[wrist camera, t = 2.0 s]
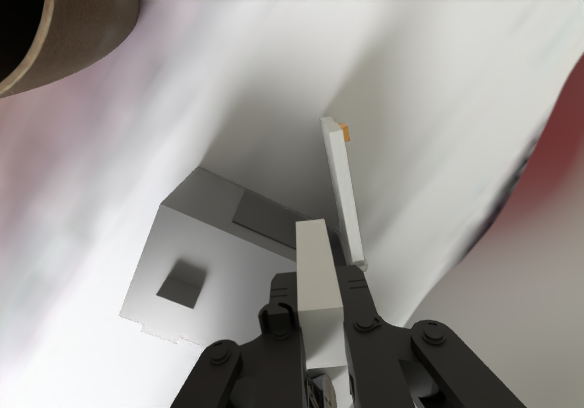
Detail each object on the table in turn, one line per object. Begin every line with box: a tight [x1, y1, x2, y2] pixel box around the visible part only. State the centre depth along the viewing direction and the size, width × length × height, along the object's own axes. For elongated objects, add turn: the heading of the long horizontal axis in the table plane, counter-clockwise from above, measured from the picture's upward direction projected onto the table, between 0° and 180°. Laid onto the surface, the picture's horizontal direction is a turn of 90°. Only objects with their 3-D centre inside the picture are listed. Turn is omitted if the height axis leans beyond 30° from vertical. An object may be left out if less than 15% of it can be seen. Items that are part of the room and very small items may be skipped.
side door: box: [320, 116, 367, 272], centre depth 29 cm, size 2×13×8 cm, turn 13°
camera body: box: [119, 167, 350, 372], centre depth 30 cm, size 12×20×12 cm, turn 63°
